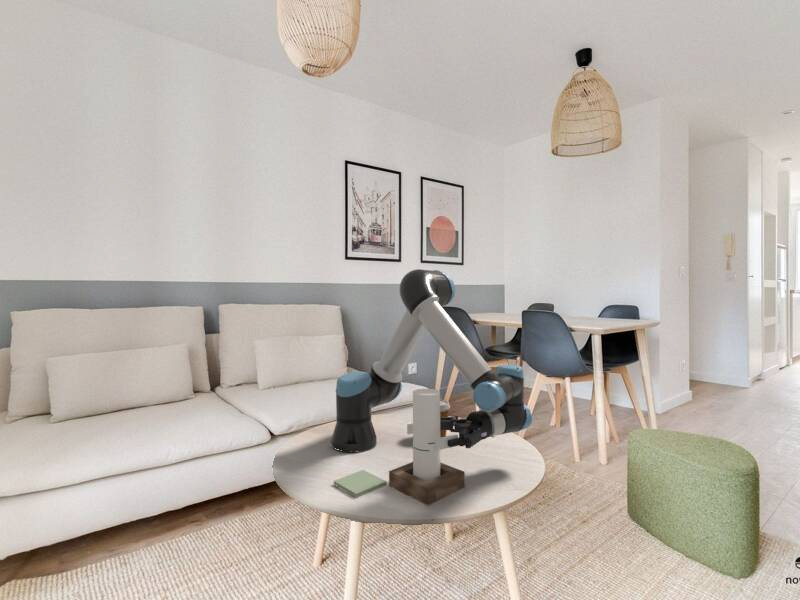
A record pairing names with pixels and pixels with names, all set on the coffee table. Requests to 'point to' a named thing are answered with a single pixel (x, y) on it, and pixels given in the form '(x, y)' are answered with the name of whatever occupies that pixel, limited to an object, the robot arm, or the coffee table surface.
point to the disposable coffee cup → (444, 414)
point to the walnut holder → (427, 483)
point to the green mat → (360, 483)
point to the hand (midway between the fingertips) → (420, 436)
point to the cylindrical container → (426, 433)
